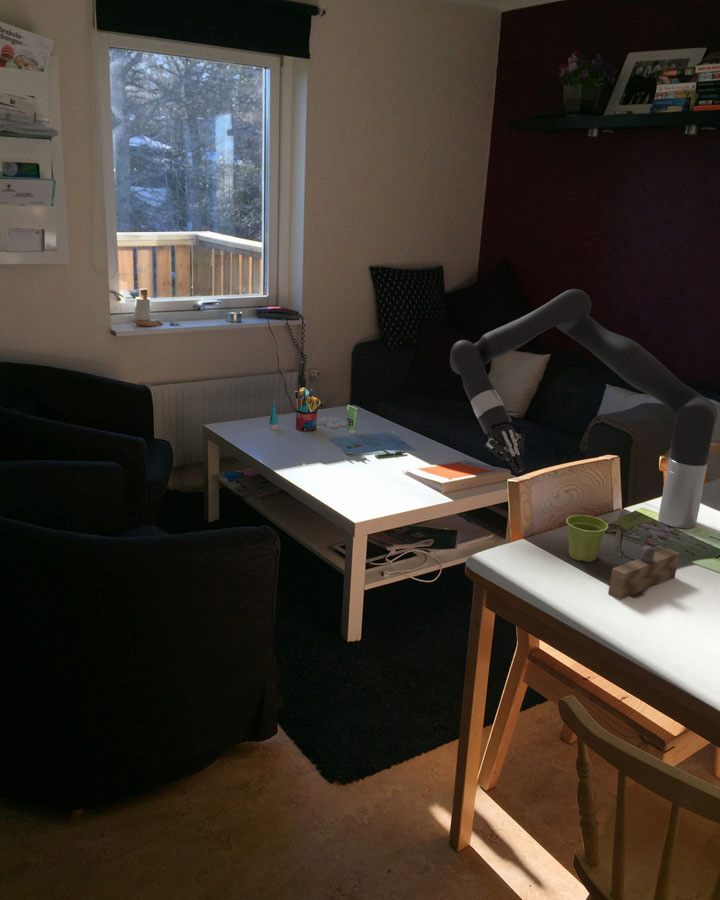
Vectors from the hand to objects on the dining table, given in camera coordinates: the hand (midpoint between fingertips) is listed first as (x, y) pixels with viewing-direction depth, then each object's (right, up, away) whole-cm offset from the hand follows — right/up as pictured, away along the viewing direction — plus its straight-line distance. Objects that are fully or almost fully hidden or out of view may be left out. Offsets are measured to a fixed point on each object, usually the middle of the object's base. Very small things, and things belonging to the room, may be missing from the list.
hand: (520, 471), depth 200 cm
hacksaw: (+23, -18, -3) cm, 29 cm away
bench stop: (+22, -24, -24) cm, 41 cm away
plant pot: (+12, -20, -12) cm, 26 cm away
